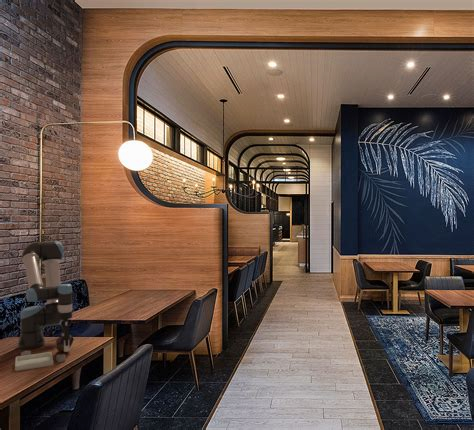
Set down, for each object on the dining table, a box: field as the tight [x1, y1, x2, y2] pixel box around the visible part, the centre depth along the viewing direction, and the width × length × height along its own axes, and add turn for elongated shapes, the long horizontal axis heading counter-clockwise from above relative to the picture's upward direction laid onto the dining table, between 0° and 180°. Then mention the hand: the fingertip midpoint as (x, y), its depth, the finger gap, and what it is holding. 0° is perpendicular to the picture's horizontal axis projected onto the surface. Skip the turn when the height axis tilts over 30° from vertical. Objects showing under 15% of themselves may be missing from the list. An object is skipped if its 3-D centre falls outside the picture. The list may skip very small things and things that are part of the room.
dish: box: [14, 351, 54, 372], centre depth 220 cm, size 18×18×2 cm
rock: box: [55, 334, 75, 352], centre depth 239 cm, size 12×9×10 cm
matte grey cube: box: [20, 350, 32, 356], centre depth 231 cm, size 4×4×3 cm
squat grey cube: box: [55, 353, 67, 363], centre depth 224 cm, size 4×4×3 cm
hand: (65, 348), depth 238 cm, fingers open, 14 cm apart
